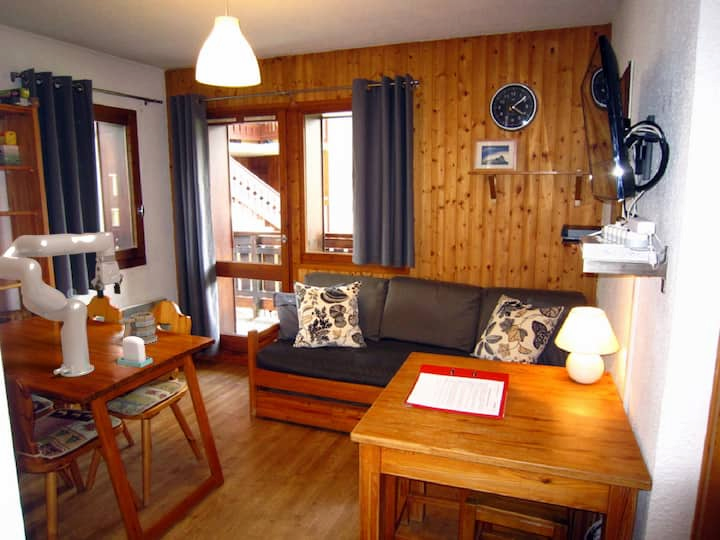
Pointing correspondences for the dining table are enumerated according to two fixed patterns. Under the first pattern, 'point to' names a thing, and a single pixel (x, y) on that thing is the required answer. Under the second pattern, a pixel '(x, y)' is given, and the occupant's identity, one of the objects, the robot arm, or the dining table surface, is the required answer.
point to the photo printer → (133, 349)
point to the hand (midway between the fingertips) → (109, 296)
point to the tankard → (140, 327)
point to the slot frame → (135, 364)
